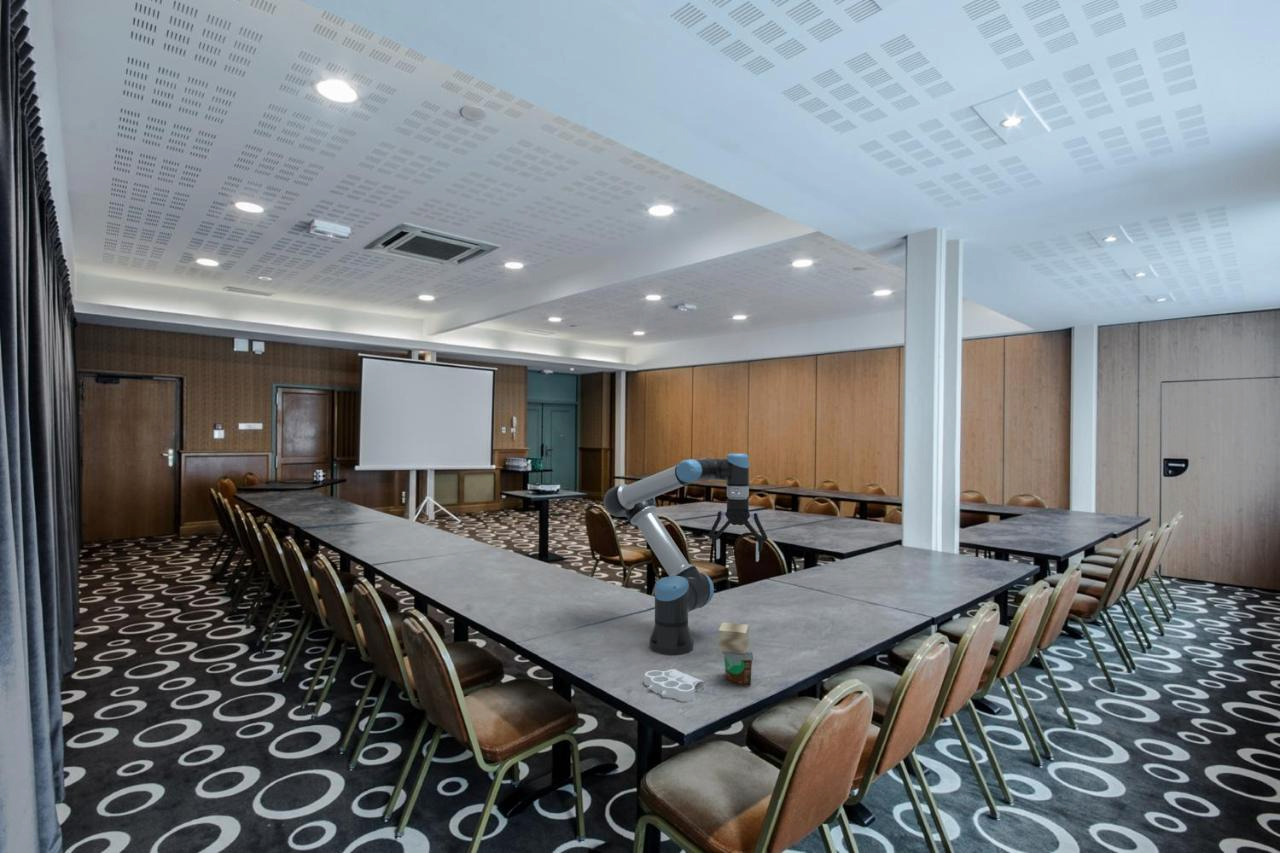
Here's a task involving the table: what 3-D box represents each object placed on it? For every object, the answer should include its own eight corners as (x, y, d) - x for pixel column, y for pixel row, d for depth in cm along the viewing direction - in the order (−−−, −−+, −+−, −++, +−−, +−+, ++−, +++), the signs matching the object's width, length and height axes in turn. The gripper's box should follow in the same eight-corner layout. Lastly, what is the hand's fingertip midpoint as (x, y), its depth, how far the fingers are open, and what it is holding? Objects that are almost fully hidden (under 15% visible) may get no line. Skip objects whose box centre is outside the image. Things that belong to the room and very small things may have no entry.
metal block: (718, 650, 179) (718, 630, 180) (722, 642, 187) (722, 622, 187) (745, 653, 177) (745, 632, 177) (748, 644, 185) (748, 624, 185)
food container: (714, 674, 187) (714, 641, 187) (732, 671, 189) (732, 639, 189) (734, 690, 176) (734, 655, 176) (753, 687, 178) (753, 652, 178)
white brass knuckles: (713, 693, 174) (677, 708, 165) (669, 674, 188) (633, 687, 178) (713, 681, 174) (677, 695, 165) (669, 663, 188) (633, 675, 178)
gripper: (700, 497, 211) (699, 559, 211) (773, 500, 204) (773, 564, 203) (704, 495, 218) (704, 555, 218) (775, 498, 211) (775, 559, 210)
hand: (737, 559), depth 211 cm, fingers open, 13 cm apart
